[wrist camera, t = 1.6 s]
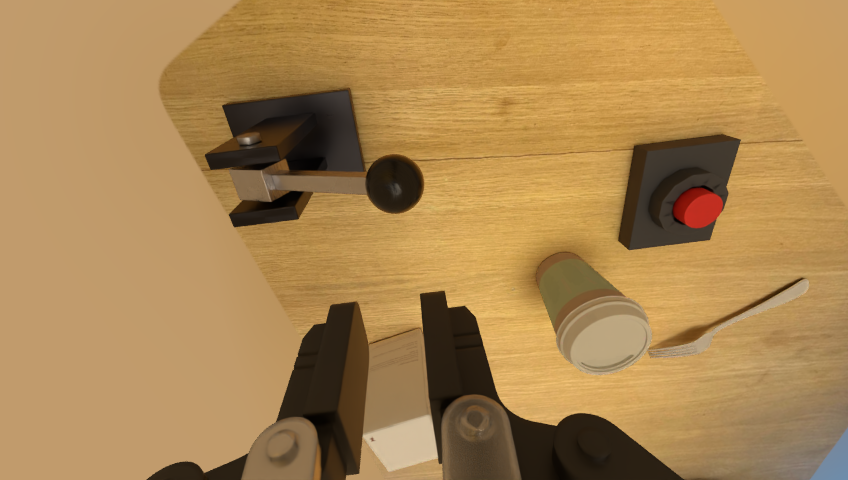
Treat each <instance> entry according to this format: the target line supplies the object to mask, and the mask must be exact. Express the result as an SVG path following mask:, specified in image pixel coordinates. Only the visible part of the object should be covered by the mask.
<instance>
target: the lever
mask: <svg viewBox="0 0 848 480" xmlns="http://www.w3.org/2000/svg"><path fill="white" fill-rule="evenodd" d="M229 172H230V175H231V177H232V180H233V183H234V185H235V188H236V190H237V193H238V196H239V198H240V200H247V201H262V202H273V201H274V200H276V199H278V198H280V197H281V196H283V195H285V194H286V193H288V192H290V191H303V192H323V193H343V194H362V195H368V197H369V199H370V201H371V202H372V203H373V204H374V206H376V207H377V208H378V209H380V210H382V211H384V212H386V213H391V214H399V213H403V212H406V211H408V210H410V209H412V208H413V207H414V206H415V205H416V204H417V203H418V202H419V200H420V199H421V197H422V194H423V191H424V178H423V174H422V172H421V170H420V168H419V167H418V165H417V164H416V163H415V162H414V161H413V160H411V159H410V158H408V157H406V156H403V155H398V154H390V155H386V156H383V157H381V158H379V159H378V160H376V161H375V162H374V163H373V164H372V165H371V167H370V168H369V170H368V172H344V171H303V170H289V167H288V164H287V161H286V159H282V160H281V161H279V162H271V163H263V164H255V165H247V166H239V167H233V168H231V169H229Z"/></svg>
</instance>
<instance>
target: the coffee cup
mask: <svg viewBox="0 0 848 480" xmlns="http://www.w3.org/2000/svg"><path fill="white" fill-rule="evenodd" d="M536 281H537V284H538V287H539V289H540V292H541V295H542V298H543V301H544V303H545V306H546V309H547V312H548V314H549V317H550V320H551V322H552V325H553V328H554V331H555V333H556V336H557V337H556V343H557V347H558V349H559V351H560V353H561V354H562V355H563V356H564V357H565V359H566V360H567V361H569V362H570V363H571V364H573V365H574V366H575V367H576V368H577V369H579V370H580V371H582V372H584V373H587V374H592V375H606V374H611V373H615V372H618V371H621V370H623V369H626V368H628V367H629V366H631V365H633V364H634V363H635V362H637V361H638V360H639V359H640V358H641V357H642V356H643V355H644V354H645V353H646V351H647V350H648V348H649V346H650V344H651V340H652V331H651V328H650V326H649V320H648V317H647V315H646V313H645V312H644V310H643V308H642V307H641V306H640V305H639V304H638V303H637V302H636V301H634V300H632V299H630V298H627V297H625V296H624V295H623V294H622V293H621V292H620V291H619V290H617V289H616V288H615V287H614V286H613V285H612V284H610V283H609V282H608V281H607V280H606V279H605V278H603V277H602V276H601V275H600V274H599V273H598V272H596V271H595V270H594V269H593V268H592V267H591V266H589V265H588V264H587V263H586V262H585V261H583V260H582V259H581V258H580V257H579V256H577V255H575V254H573V253H568V252H563V253H557V254H554V255H552V256H550V257H548V258H547V259H546V260H544V261H543V262H542V264H541V265H540V266H539V268H538V270H537V273H536Z"/></svg>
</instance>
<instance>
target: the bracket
mask: <svg viewBox="0 0 848 480" xmlns="http://www.w3.org/2000/svg"><path fill="white" fill-rule="evenodd" d="M222 107H223V110H224V112H225V115H226V118H227V121H228V124H229V126H230V129H231V132H232V135H233V138H232V139H230V140H229V141H227V142H225V143H224V144H222V145H220V146H219V147H217V148H215V149H213V150H212V151H210V152H208V153H207V154H205V157H206V160H207V162H208V164H209V167H210V169H211V170H215V169H223V168H231V167H239V166H247V165H255V164H263V163H271V162H279V161H281V160H282V159H286V161H287V164H288V167H289V170H303V171H344V172H366V169H365V164H364V159H363V154H362V149H361V143H360V138H359V133H358V128H357V123H356V117H355V112H354V107H353V102H352V97H351V91H350V88H347V89H339V90H331V91H323V92H314V93H306V94H298V95H290V96H282V97H274V98H266V99H258V100H250V101H242V102H234V103H227V104H224V105H222ZM312 194H313V192H303V191H290V192H288V193H286V194H285V195H283V196H281V197H280V198H278V199H276V200H274V201H273V202H262V201H247V200H243V201H242V202H241V203H240V204H239V205H238V206H237V207H236V208H235V209H234V210H233V211H232V212H231V213H230V214H229V216H230V219H231V221H232V224H233V226H234V227H240V226H248V225H256V224H264V223H276V222H281V221H289V220H297V219H299V217H300V215H301V214H302V212H303V210H304V208H305V207H306V205H307V203H308V201H309V199H310V198H311V196H312Z"/></svg>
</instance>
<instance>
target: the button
mask: <svg viewBox="0 0 848 480" xmlns="http://www.w3.org/2000/svg"><path fill="white" fill-rule="evenodd" d="M722 207H723V202H722V199H721V198H720V197H719V196H718V195H716V194H714V193H712V192H710V191H708V190H706V189H704V188H700V187H697V188H691V189H689V190H687V191H685V192H683V193H682V194H681V195H680V196H679V197H678V198H677V200H676V201H675V203H674V206H673V214H674V216H675V218H677V219H678V220H679V221H681V222H683V223H684V224H686V225H687V226H689V227H691V228H701V227H705V226H707V225H709V224H710V223H712V222H713V221H714V220H715V219H716V218H717V217H718V216H719V214H720V213H721V211H722Z"/></svg>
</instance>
